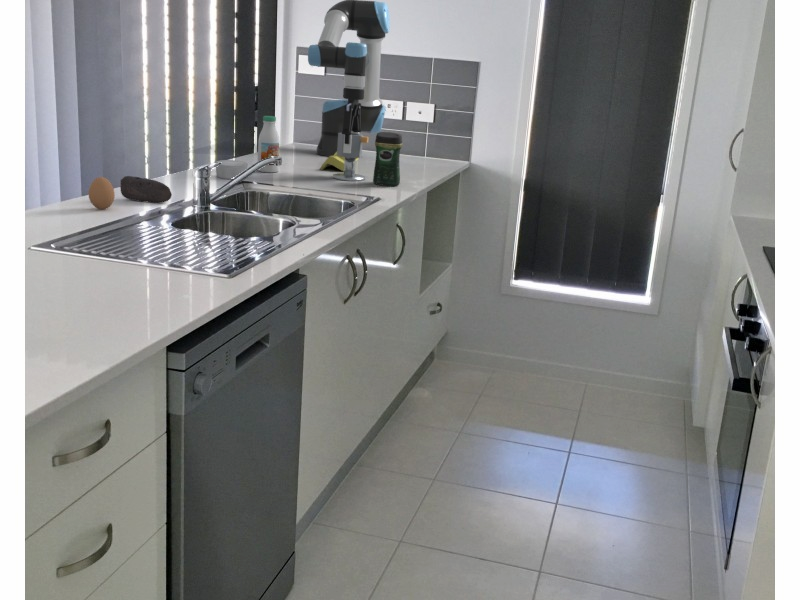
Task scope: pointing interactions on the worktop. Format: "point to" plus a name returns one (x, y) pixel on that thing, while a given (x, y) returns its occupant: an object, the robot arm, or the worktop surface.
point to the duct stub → (349, 171)
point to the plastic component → (335, 162)
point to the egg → (101, 193)
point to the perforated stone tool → (144, 189)
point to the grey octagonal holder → (355, 145)
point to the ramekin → (230, 168)
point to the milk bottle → (268, 143)
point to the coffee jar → (387, 159)
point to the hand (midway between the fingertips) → (350, 151)
